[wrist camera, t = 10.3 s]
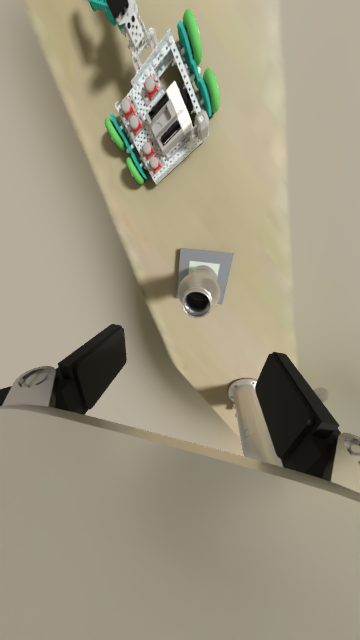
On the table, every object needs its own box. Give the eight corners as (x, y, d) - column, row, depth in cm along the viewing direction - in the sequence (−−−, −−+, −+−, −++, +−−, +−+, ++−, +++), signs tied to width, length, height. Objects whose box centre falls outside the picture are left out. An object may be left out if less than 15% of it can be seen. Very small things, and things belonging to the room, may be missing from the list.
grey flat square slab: (221, 302, 39) (221, 304, 38) (177, 296, 41) (176, 297, 39) (232, 253, 34) (233, 253, 33) (181, 248, 35) (180, 248, 34)
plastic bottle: (207, 296, 38) (206, 336, 20) (184, 282, 37) (162, 311, 19) (222, 273, 35) (236, 296, 17) (197, 258, 34) (185, 266, 16)
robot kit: (150, -87, 20) (106, -339, 11) (228, 132, 26) (237, 77, 18) (69, 58, 26) (4, -33, 18) (149, 203, 33) (129, 186, 25)
